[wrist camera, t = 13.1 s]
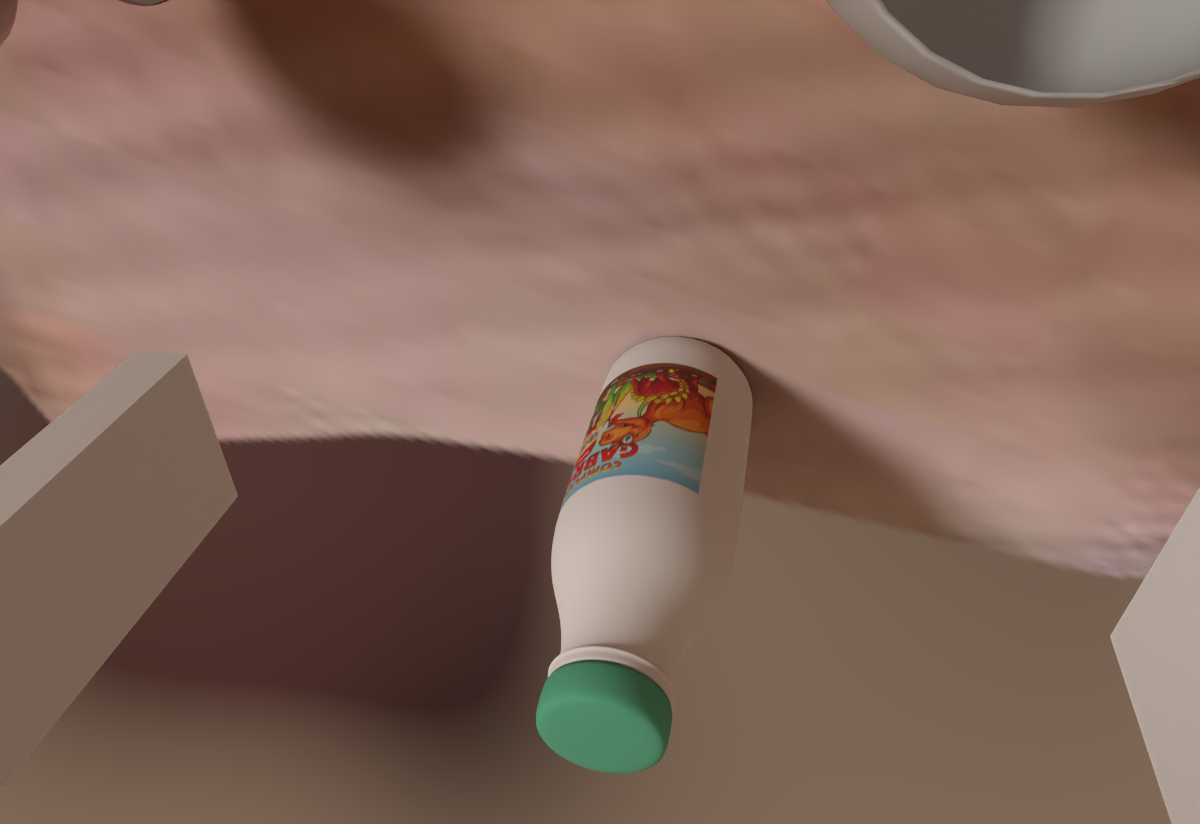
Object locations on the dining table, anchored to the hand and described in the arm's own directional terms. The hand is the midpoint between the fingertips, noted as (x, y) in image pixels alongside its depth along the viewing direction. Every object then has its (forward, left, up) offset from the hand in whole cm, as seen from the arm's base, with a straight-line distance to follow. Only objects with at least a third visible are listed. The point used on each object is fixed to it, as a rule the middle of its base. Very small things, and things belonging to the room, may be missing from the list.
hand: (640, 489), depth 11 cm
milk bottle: (+18, -2, -27) cm, 32 cm away
